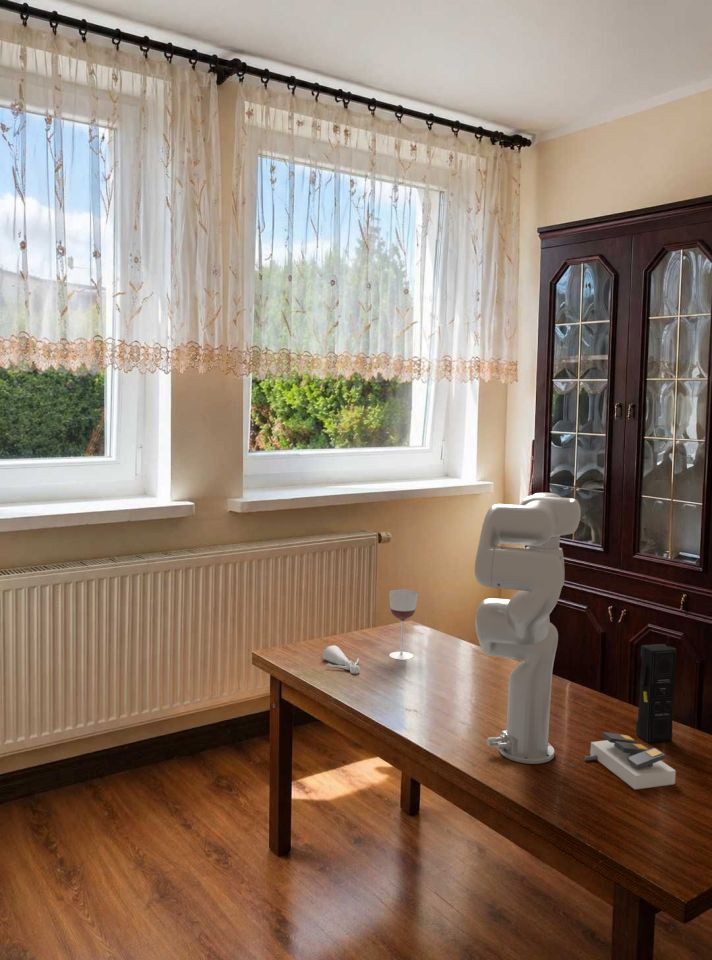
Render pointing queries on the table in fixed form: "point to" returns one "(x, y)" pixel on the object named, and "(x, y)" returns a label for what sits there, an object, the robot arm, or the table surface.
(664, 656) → the portable radio
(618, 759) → the rocker switch panel
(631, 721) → the table surface
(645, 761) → the rocker far end
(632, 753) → the rocker middle
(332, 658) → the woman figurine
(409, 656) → the wineglass
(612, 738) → the rocker near arm
